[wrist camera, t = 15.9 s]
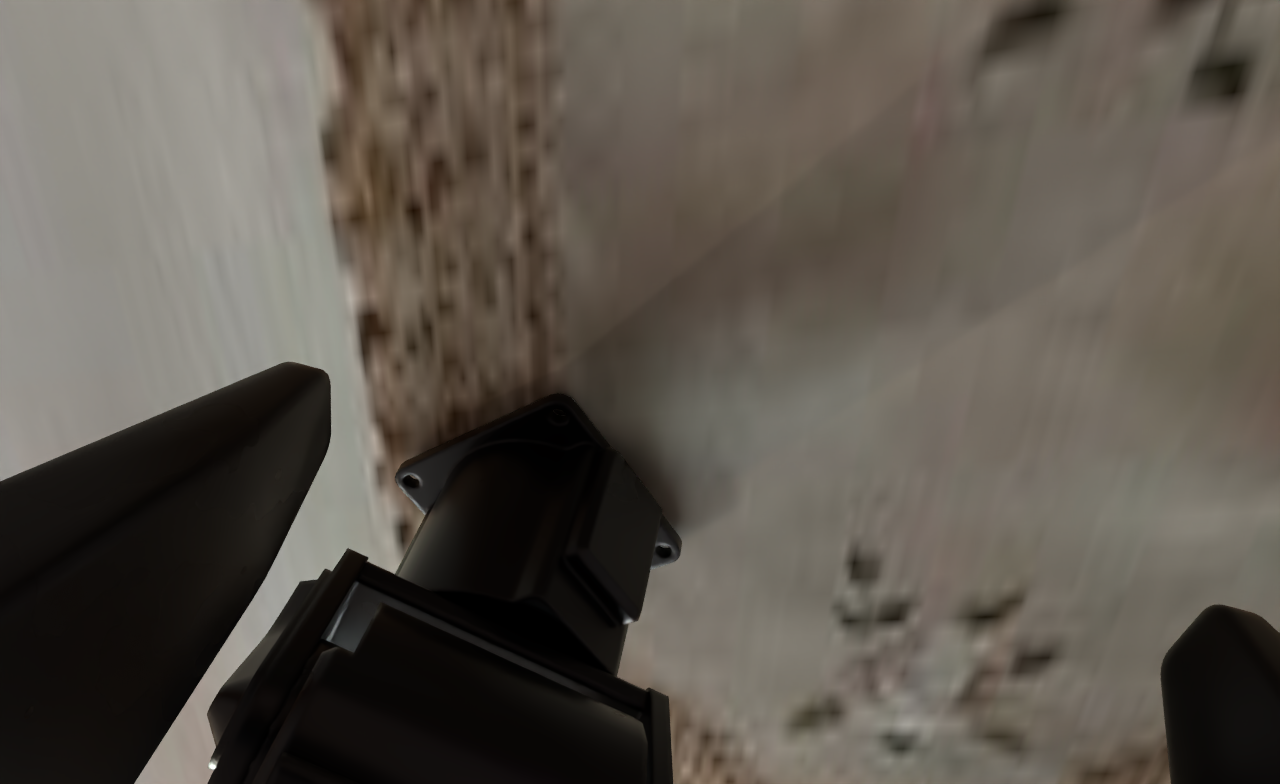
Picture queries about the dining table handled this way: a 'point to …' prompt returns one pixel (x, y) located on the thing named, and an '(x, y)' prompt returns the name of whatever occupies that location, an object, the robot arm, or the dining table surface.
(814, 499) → the dining table surface
